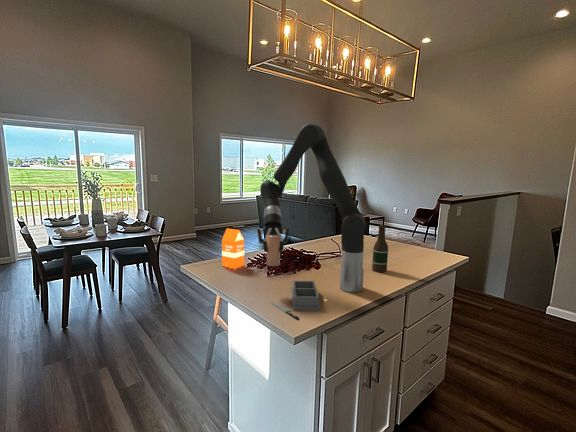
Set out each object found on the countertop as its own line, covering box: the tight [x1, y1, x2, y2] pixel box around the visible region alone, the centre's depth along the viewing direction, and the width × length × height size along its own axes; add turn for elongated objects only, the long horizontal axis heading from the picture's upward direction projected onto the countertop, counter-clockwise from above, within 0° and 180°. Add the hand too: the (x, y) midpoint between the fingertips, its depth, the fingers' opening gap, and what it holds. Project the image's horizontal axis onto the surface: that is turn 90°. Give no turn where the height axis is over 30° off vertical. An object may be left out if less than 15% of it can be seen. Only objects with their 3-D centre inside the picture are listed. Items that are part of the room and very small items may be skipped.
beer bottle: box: [371, 224, 389, 274], centre depth 160 cm, size 8×8×24 cm
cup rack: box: [291, 280, 321, 312], centre depth 123 cm, size 10×20×4 cm, turn 1°
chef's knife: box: [268, 301, 300, 321], centre depth 114 cm, size 19×1×3 cm
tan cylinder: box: [266, 235, 281, 267], centre depth 127 cm, size 6×6×12 cm
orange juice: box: [221, 227, 245, 270], centre depth 162 cm, size 8×9×20 cm
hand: (273, 251), depth 125 cm, fingers closed on tan cylinder, 5 cm apart
